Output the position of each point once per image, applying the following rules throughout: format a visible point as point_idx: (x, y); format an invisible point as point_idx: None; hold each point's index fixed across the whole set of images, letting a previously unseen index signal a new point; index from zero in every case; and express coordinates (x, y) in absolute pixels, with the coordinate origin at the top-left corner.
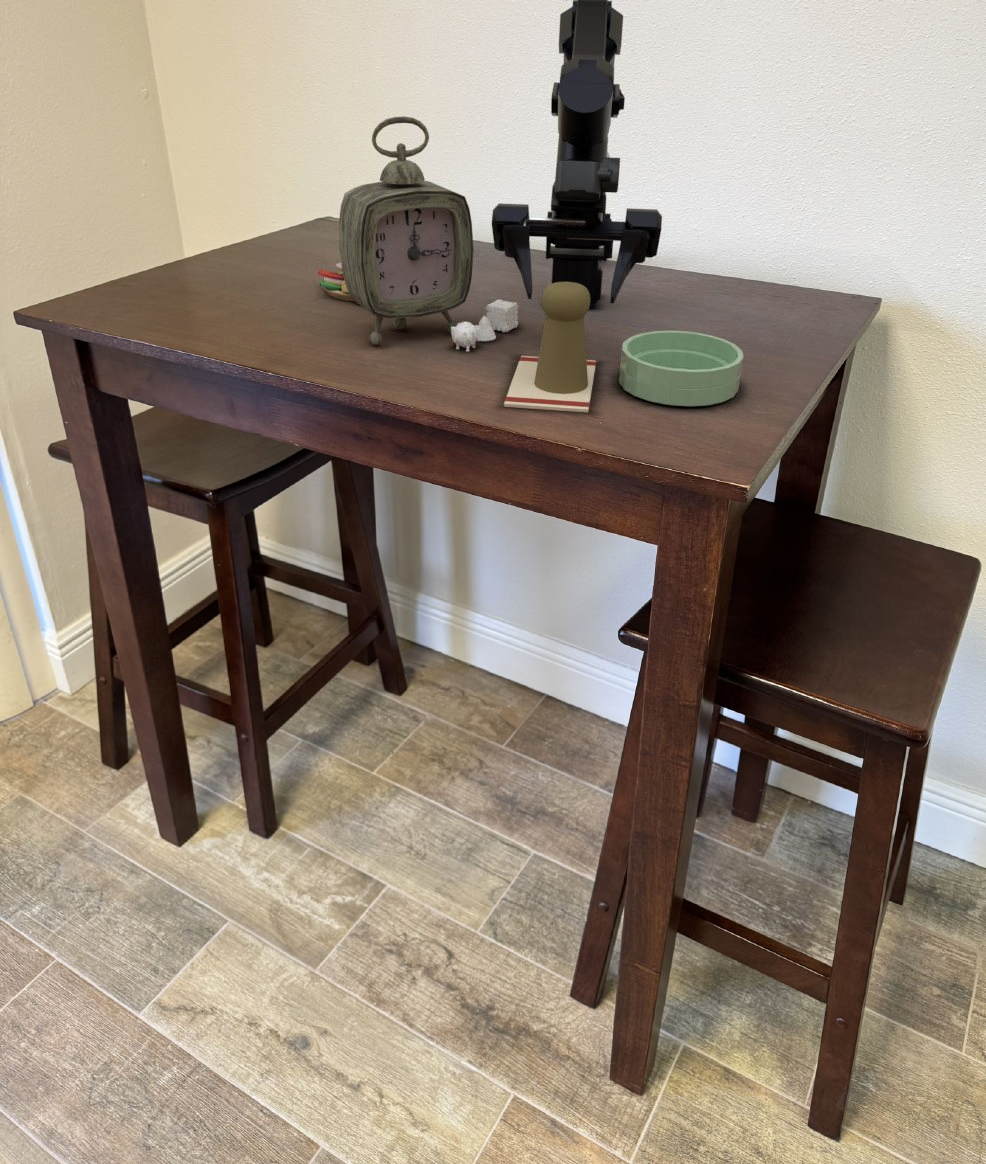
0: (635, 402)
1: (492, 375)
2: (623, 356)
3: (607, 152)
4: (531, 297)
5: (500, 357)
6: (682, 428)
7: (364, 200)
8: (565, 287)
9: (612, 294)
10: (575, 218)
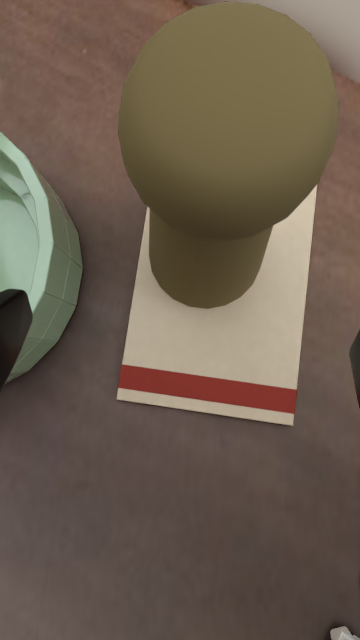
0: (65, 187)
1: (350, 315)
2: (56, 230)
3: None
4: (351, 356)
5: (339, 432)
6: (3, 82)
7: None
8: (241, 29)
9: (9, 293)
10: None
